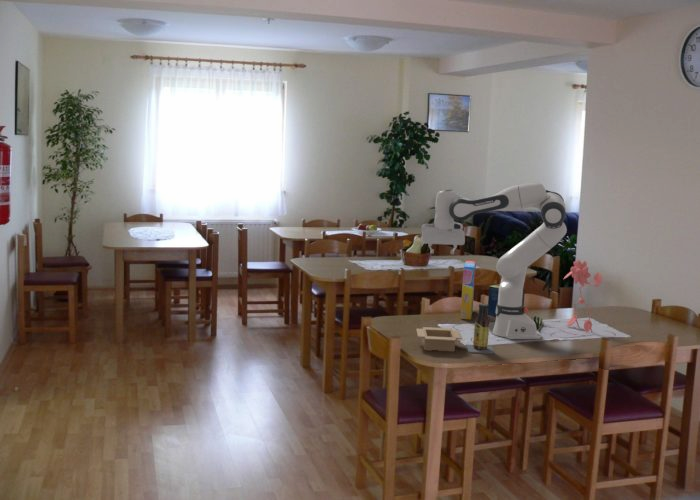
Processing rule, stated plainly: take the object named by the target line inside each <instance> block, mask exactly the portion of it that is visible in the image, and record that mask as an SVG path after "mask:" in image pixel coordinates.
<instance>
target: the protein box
mask: <svg viewBox="0 0 700 500" xmlns="http://www.w3.org/2000/svg"><path fill="white" fill-rule="evenodd" d="M499 286H500V283H498V284H492V285H489V288H488V289H489V290H488V303H487V304H488V305H489V306H488V312H487V313H488V314H487V315H488V316H492V317H494V318H496V307H497V303H498V293H499ZM525 289H526V288H523V294H522V306H524V304H525V294H526V293H525V292H526V291H525ZM524 307H525V306H524Z"/></svg>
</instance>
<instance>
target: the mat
mask: <svg viewBox="0 0 700 500" xmlns="http://www.w3.org/2000/svg"><path fill="white" fill-rule="evenodd" d="M473 345H474V344H468V343H467V344H466V343H465V347H466V350H467V352H468V354H486V355H487V354H488V355H495V354H496V353H495V351H494V348H493V347H492V345H489V344H488V345H487V349H485V350H480V349H476V348H474V347H473Z"/></svg>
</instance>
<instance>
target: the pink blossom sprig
mask: <svg viewBox="0 0 700 500" xmlns="http://www.w3.org/2000/svg"><path fill="white" fill-rule="evenodd" d="M570 276H571V277H572V278H573V281H574V284H578V283H579V284H580V285H581V286H579V289H578V290H579V293H580V294H579V295H580V298H579V299H578V301H576V302H575V303H574V314H575V315H574V316H572V317H571V318H570V319H568V320H569V321H567V325H566V327H567V328H568V327H570V326H572V325H574V323H576V325H577V327H578V328H579V327H580V326H579V321H578V320H577V319H578V315H576V310H577V307H576V306H577V304H578V303H579V304H582V305H583V304H585V305H586V306H587V307H589V308H591V309H590V313H589V317H588V319H587V320H585V322H584V323H583V329H584V331H585V333H589V331H591V333H592V332H593V329H592V327H593V324H592V320H590V318H591V315H592V311H593V307H592V306H590V305H589V304H587V303H586V300H585V298H583V297H582V291H581V288H584V286H587V285H591V286H593V287H595V288H596V287H599V286H600V285H601V283H602V282H603V276H602V274H601V273H600V272H597V273H595V274H594V277H593V282H594V284H593V283H590V282H589V281H588V279H589V278H591V273H590V272H589V267H588V265H587V262H586V260H583V261H581V260H579V259H577V260H575V261H573V266H571V267H570V271H569V272H568V273H567V274H566V275H565V276H564V278H563V280H565V279H567V278H569V277H570ZM558 330H559V331H562V332H563V333H567V334H568V332H566V331H564V330H562V329H560V328H558ZM569 334H570V335H575V336H577V334H576V333H569ZM581 336H584V337H585V336H586V335H583V334H582V335H581Z"/></svg>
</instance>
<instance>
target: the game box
mask: <svg viewBox="0 0 700 500" xmlns="http://www.w3.org/2000/svg"><path fill="white" fill-rule="evenodd" d="M476 264H477V261H474V260H465V262H464V265H463V272H462V273H463V274H462V287H461V304H460V315H459V317H460V319H461V320H472V316H473V312H474V311H473V310H474V299H475V298H474V296H475V285H476V284H475V281H476V266H477V265H476Z"/></svg>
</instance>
